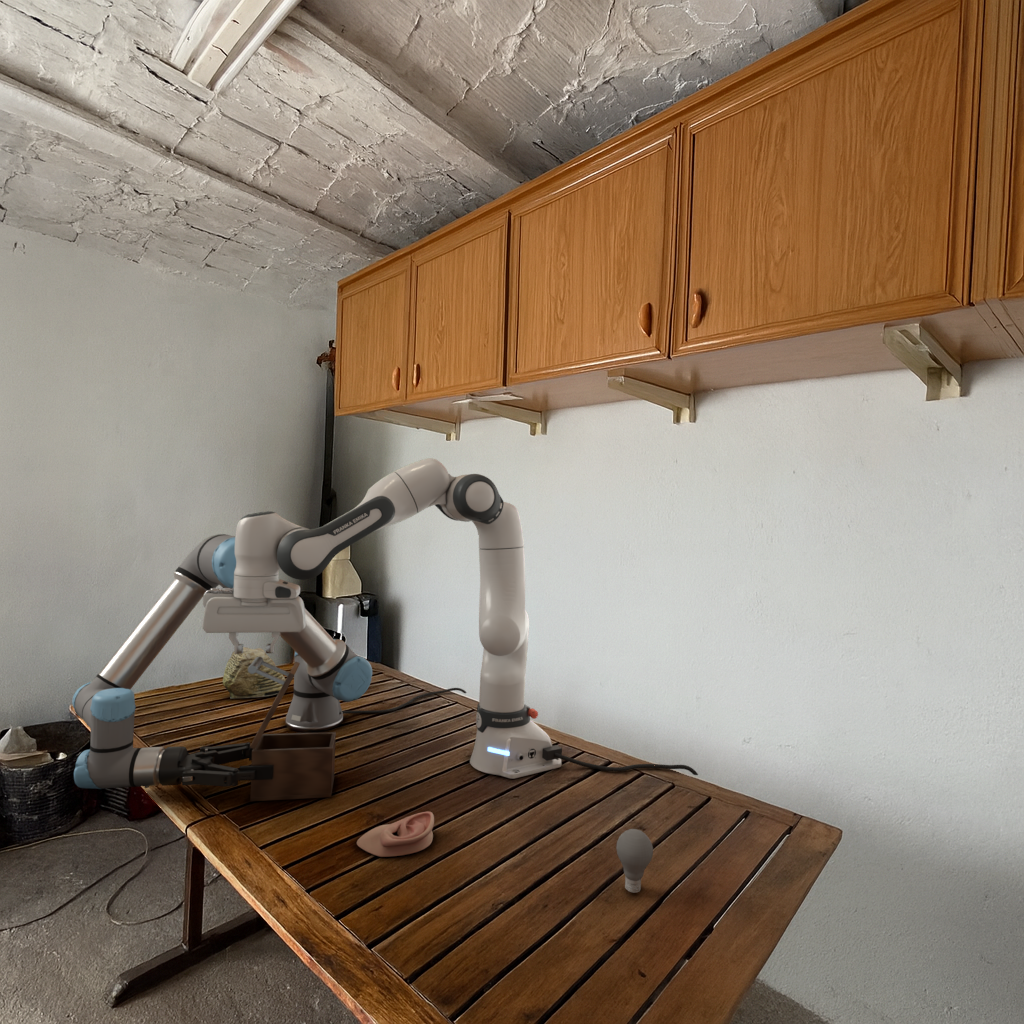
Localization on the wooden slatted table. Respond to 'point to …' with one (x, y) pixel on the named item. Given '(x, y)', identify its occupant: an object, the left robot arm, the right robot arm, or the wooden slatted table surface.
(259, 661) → the lid
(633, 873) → the light bulb
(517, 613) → the right robot arm
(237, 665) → the fossil
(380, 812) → the wooden slatted table surface
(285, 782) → the chest
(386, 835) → the anatomical model
